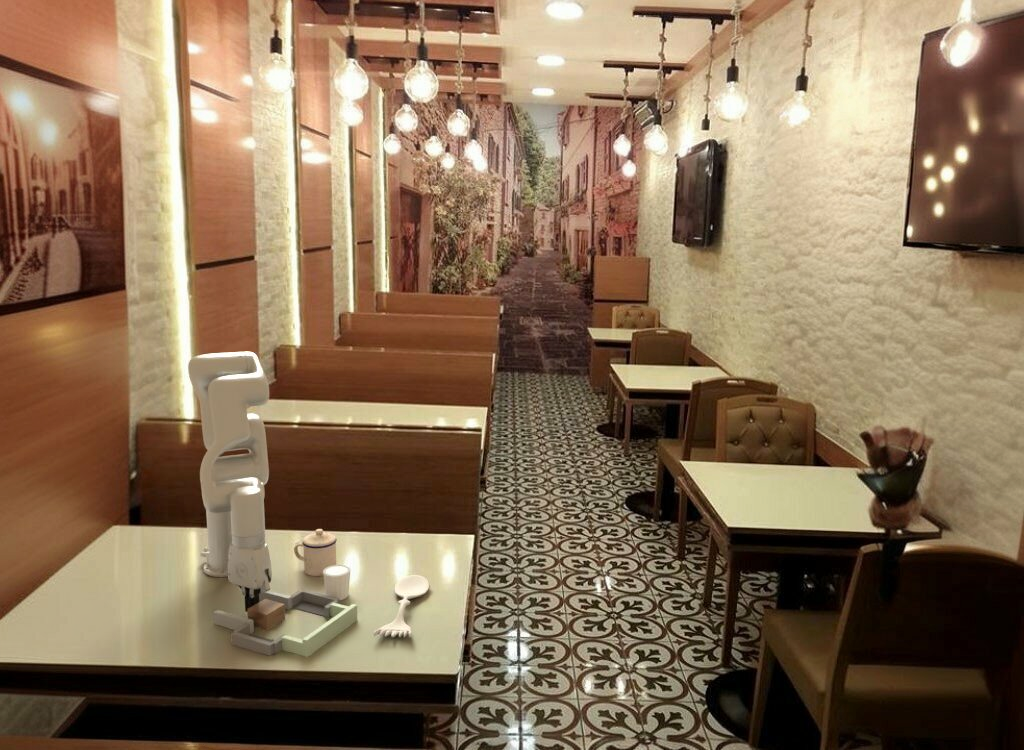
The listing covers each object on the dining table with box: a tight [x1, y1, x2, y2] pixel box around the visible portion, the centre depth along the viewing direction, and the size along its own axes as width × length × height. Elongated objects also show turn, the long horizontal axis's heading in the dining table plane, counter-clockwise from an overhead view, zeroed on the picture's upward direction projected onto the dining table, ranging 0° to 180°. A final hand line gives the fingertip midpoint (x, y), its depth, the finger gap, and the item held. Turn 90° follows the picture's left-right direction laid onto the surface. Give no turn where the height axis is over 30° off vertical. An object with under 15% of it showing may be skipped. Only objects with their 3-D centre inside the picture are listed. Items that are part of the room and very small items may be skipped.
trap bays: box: [230, 589, 341, 657], centre depth 185 cm, size 12×25×2 cm, turn 155°
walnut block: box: [246, 599, 286, 631], centre depth 187 cm, size 6×6×4 cm
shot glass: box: [322, 564, 351, 601], centre depth 200 cm, size 7×7×7 cm
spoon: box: [373, 574, 431, 638], centre depth 193 cm, size 9×32×4 cm, turn 177°
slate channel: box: [213, 590, 358, 658], centre depth 186 cm, size 29×18×4 cm, turn 65°
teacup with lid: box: [293, 528, 337, 577], centre depth 215 cm, size 12×9×12 cm
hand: (252, 610), depth 190 cm, fingers closed
